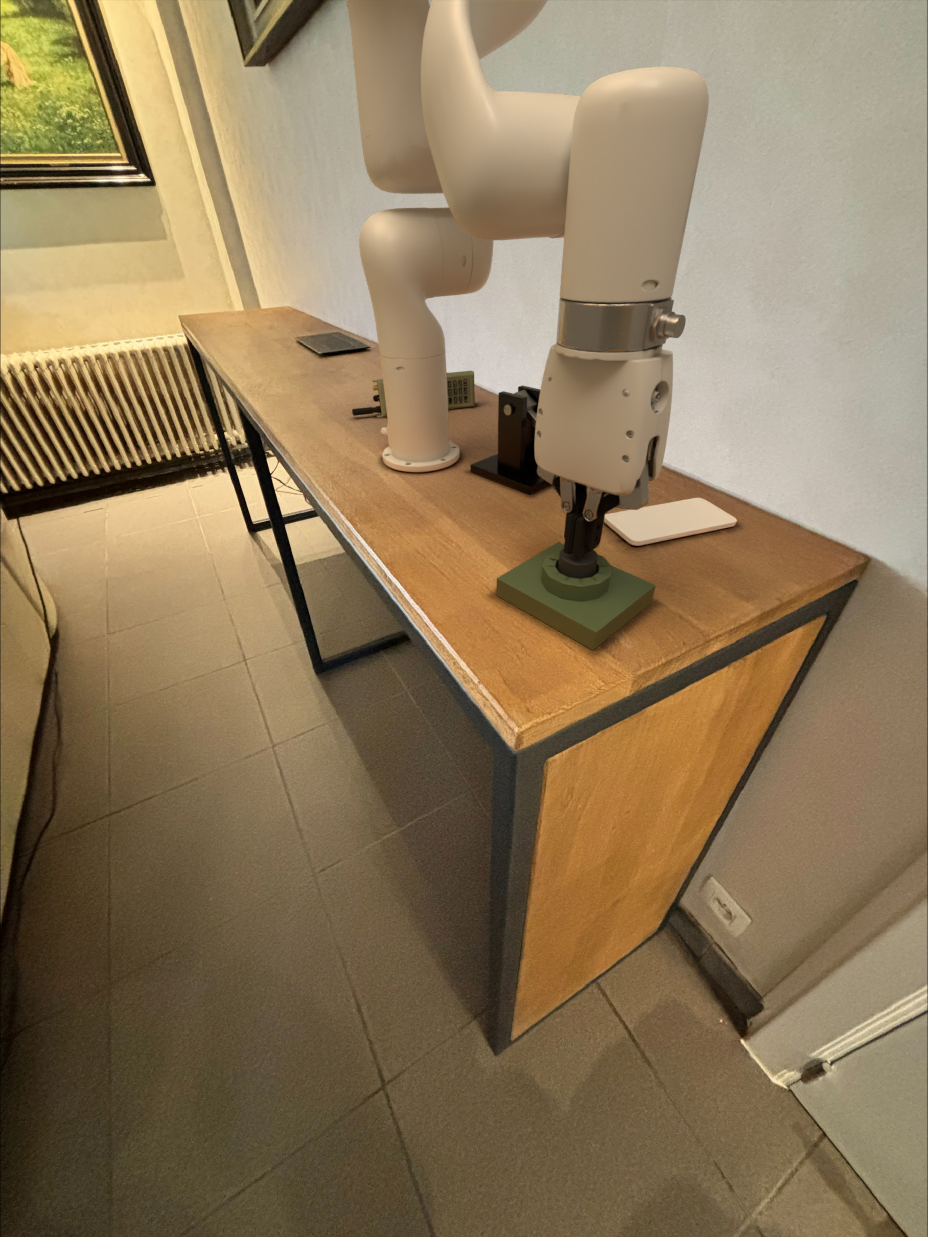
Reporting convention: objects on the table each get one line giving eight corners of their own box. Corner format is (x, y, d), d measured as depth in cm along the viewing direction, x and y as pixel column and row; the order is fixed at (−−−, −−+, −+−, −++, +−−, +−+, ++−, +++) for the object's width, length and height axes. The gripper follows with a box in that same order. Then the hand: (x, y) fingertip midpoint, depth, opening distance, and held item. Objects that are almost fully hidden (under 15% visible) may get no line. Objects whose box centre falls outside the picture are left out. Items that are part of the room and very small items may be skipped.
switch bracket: (569, 476, 74) (578, 392, 67) (529, 495, 70) (534, 407, 62) (509, 455, 81) (512, 377, 74) (470, 472, 77) (468, 390, 69)
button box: (496, 595, 52) (496, 562, 49) (556, 558, 57) (559, 527, 54) (592, 650, 45) (599, 616, 42) (651, 602, 50) (660, 569, 47)
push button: (550, 569, 49) (551, 554, 47) (572, 555, 50) (574, 540, 49) (580, 584, 46) (583, 569, 45) (602, 569, 48) (605, 554, 47)
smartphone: (740, 521, 61) (634, 542, 57) (738, 526, 61) (633, 548, 58) (700, 496, 66) (601, 514, 63) (698, 501, 67) (600, 520, 63)
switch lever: (581, 474, 69) (593, 458, 67) (567, 481, 68) (579, 465, 65) (518, 404, 72) (528, 386, 69) (503, 409, 70) (512, 391, 67)
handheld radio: (476, 407, 102) (354, 421, 97) (471, 404, 105) (352, 417, 100) (475, 372, 98) (348, 384, 93) (470, 369, 101) (346, 381, 96)
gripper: (738, 330, 33) (674, 564, 45) (559, 312, 42) (544, 512, 53) (683, 348, 29) (628, 600, 41) (498, 325, 38) (495, 537, 49)
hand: (580, 549), depth 47 cm, fingers closed
